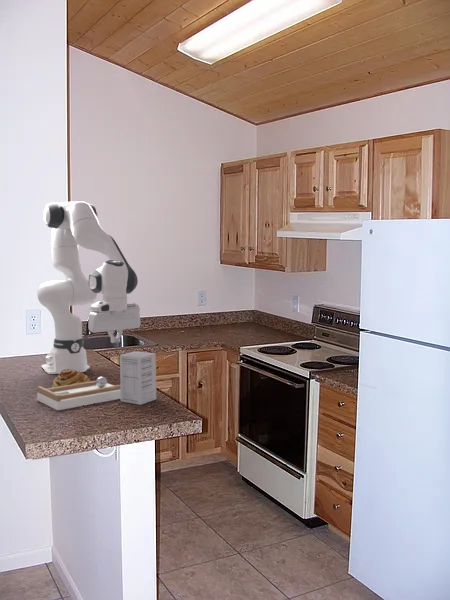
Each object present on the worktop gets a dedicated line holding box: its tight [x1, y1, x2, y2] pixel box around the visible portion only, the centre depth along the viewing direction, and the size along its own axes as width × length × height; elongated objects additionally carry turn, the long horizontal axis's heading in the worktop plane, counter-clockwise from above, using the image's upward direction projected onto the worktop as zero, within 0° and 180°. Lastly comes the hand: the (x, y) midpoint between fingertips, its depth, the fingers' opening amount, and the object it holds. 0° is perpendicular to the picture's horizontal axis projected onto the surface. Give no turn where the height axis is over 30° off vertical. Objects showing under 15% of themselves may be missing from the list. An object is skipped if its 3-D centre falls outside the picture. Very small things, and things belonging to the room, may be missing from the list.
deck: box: [36, 380, 121, 411], centre depth 226 cm, size 16×26×5 cm, turn 130°
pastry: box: [51, 369, 92, 388], centre depth 242 cm, size 13×15×8 cm
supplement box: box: [119, 350, 157, 406], centre depth 224 cm, size 10×9×17 cm
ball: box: [95, 376, 108, 388], centre depth 231 cm, size 4×4×4 cm
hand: (115, 342), depth 233 cm, fingers closed
